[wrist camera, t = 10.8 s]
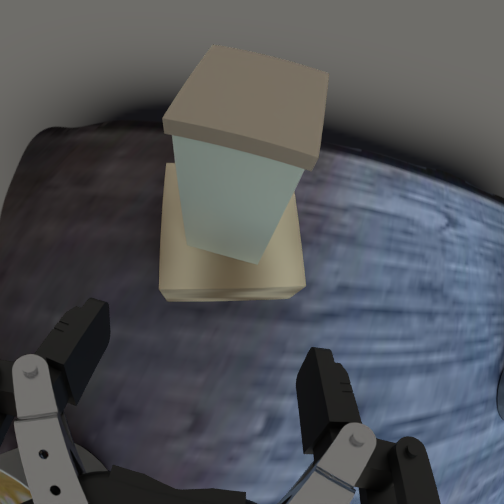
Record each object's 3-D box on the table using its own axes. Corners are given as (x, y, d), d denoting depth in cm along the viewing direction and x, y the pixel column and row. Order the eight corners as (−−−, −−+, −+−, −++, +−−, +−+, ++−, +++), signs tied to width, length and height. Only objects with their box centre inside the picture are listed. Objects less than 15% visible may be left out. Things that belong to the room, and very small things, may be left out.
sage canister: (275, 202, 23) (329, 73, 11) (259, 268, 21) (318, 157, 9) (206, 183, 22) (212, 44, 11) (183, 247, 20) (162, 118, 9)
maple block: (277, 195, 29) (290, 165, 24) (287, 299, 26) (306, 285, 21) (171, 194, 27) (166, 163, 23) (168, 302, 24) (158, 289, 19)
